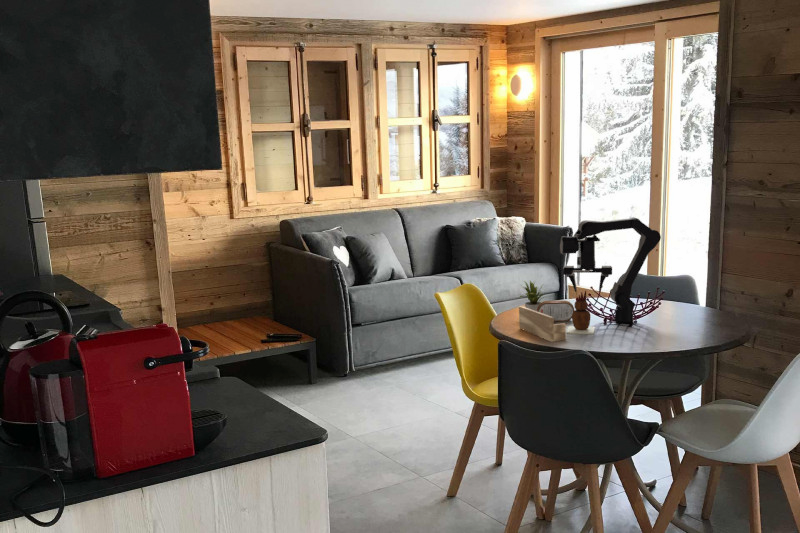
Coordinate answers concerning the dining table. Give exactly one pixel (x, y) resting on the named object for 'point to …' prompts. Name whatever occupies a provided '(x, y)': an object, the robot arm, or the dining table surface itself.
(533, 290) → the house plant
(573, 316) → the wooden figurine
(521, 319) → the shelf bay
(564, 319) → the tin
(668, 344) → the dining table surface
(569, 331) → the board
